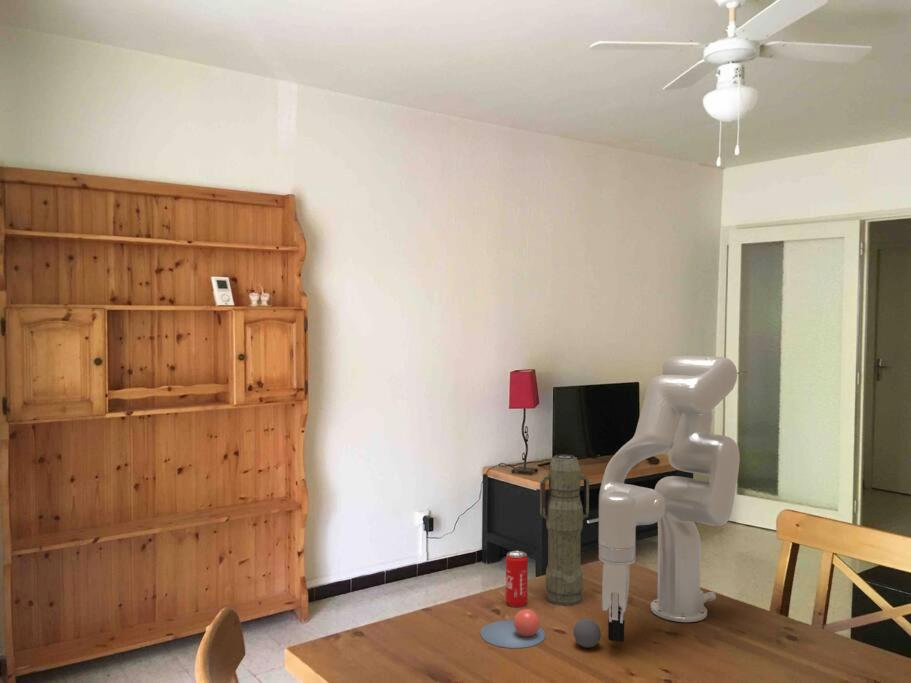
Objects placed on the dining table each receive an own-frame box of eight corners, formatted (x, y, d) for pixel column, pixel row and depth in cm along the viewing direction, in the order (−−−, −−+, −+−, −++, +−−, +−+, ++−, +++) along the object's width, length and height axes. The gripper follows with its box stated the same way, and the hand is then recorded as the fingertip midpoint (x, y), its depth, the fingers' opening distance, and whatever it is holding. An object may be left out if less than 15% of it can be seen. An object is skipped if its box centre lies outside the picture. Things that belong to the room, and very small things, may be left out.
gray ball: (586, 609, 156) (581, 630, 158) (570, 620, 152) (565, 641, 154) (608, 624, 153) (602, 645, 154) (593, 635, 149) (587, 657, 150)
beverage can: (526, 608, 174) (526, 558, 173) (504, 606, 175) (504, 556, 174) (528, 600, 179) (528, 551, 178) (507, 598, 180) (507, 550, 179)
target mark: (525, 617, 169) (525, 616, 169) (557, 641, 156) (557, 640, 156) (469, 627, 163) (469, 626, 163) (498, 653, 150) (498, 652, 150)
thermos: (535, 593, 183) (535, 454, 182) (579, 590, 185) (580, 452, 184) (546, 607, 174) (547, 460, 173) (593, 603, 177) (594, 458, 176)
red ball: (532, 603, 162) (524, 626, 163) (513, 604, 159) (505, 627, 159) (548, 618, 157) (539, 641, 158) (529, 619, 154) (520, 642, 155)
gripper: (601, 540, 161) (601, 623, 161) (595, 562, 147) (594, 652, 147) (636, 543, 159) (636, 627, 159) (633, 565, 144) (633, 657, 145)
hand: (616, 639), depth 153 cm, fingers closed
